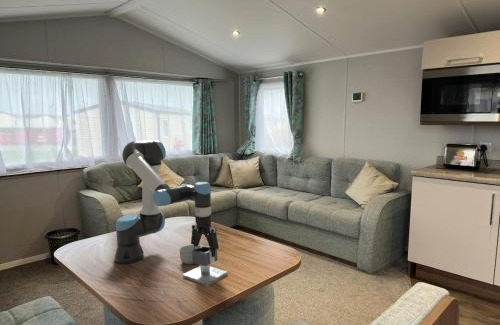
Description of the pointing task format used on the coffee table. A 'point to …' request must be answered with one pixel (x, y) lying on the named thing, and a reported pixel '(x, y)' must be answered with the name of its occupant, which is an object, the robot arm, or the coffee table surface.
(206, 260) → the grey square hollow block
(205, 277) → the grey plate with post
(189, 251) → the teacup
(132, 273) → the coffee table surface
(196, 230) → the robot arm
